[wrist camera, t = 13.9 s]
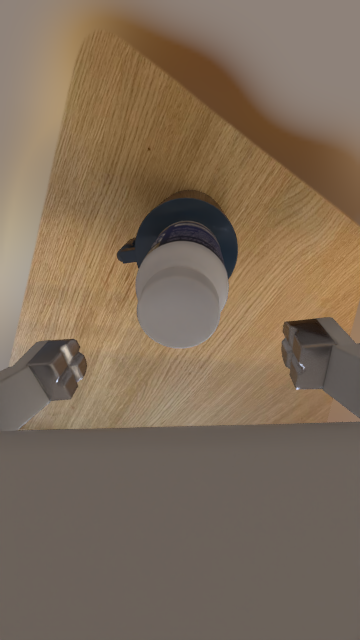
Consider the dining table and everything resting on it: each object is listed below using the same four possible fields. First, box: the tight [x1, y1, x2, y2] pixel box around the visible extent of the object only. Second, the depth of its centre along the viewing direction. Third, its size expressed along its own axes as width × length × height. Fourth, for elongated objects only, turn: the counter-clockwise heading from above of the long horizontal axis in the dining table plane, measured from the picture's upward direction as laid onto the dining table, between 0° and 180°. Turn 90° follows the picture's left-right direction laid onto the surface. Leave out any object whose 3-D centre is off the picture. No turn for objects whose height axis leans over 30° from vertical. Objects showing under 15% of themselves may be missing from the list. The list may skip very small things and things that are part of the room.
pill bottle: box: [136, 221, 229, 348], centre depth 15 cm, size 5×5×10 cm
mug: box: [117, 190, 238, 279], centre depth 23 cm, size 11×8×9 cm
